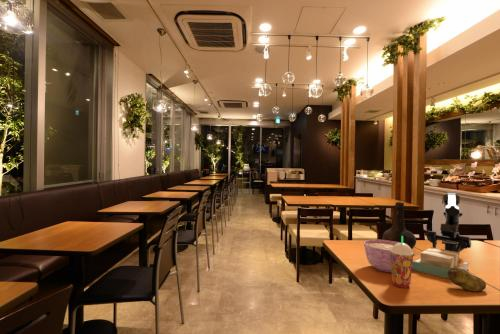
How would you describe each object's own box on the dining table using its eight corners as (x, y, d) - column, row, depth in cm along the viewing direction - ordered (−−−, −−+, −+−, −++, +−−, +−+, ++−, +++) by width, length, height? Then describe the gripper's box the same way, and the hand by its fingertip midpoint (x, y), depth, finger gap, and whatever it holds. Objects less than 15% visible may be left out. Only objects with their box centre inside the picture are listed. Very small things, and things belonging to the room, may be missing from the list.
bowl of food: (418, 276, 135) (419, 250, 135) (375, 276, 134) (375, 250, 133) (394, 262, 155) (395, 239, 155) (356, 262, 153) (356, 239, 153)
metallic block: (430, 263, 154) (431, 247, 154) (458, 270, 146) (459, 252, 146) (420, 270, 143) (420, 252, 143) (449, 278, 135) (450, 258, 135)
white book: (426, 260, 160) (426, 252, 160) (468, 268, 147) (468, 260, 147) (411, 269, 144) (411, 261, 144) (456, 280, 131) (456, 271, 131)
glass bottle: (396, 255, 167) (397, 204, 167) (375, 247, 185) (376, 200, 184) (423, 254, 171) (424, 204, 171) (400, 245, 189) (401, 200, 189)
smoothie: (385, 281, 128) (387, 233, 128) (404, 281, 129) (406, 233, 129) (397, 289, 120) (398, 238, 120) (417, 289, 121) (418, 238, 121)
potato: (487, 296, 115) (488, 275, 115) (447, 288, 122) (447, 268, 122) (485, 289, 122) (485, 269, 122) (447, 282, 129) (447, 263, 129)
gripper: (427, 215, 161) (420, 239, 153) (470, 220, 147) (464, 247, 140) (431, 228, 166) (424, 252, 159) (473, 234, 153) (468, 260, 145)
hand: (444, 252), depth 151 cm, fingers open, 9 cm apart
